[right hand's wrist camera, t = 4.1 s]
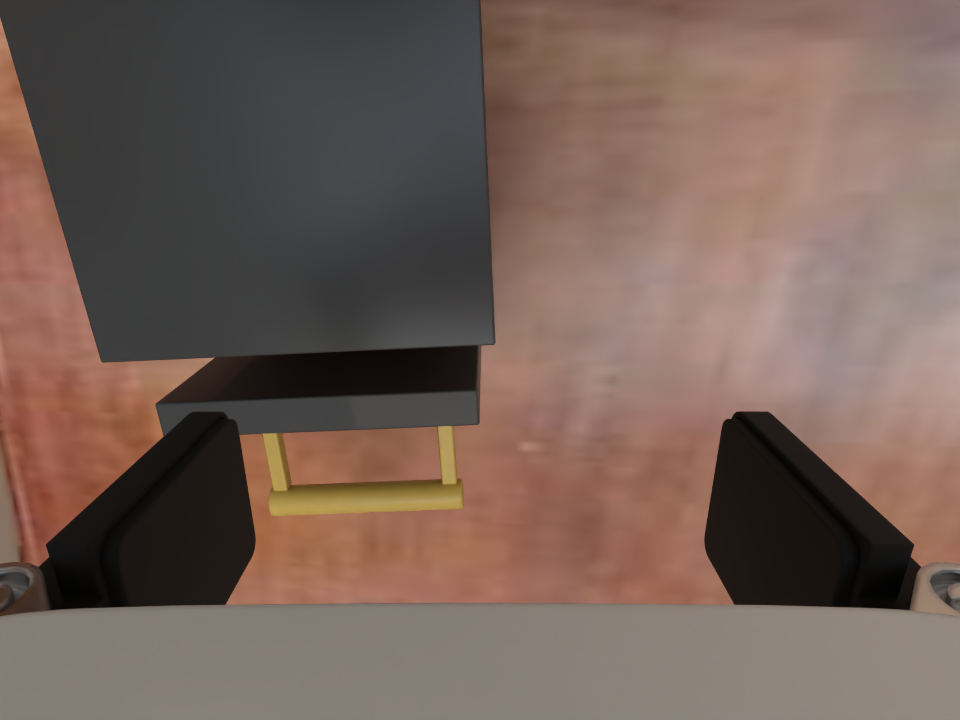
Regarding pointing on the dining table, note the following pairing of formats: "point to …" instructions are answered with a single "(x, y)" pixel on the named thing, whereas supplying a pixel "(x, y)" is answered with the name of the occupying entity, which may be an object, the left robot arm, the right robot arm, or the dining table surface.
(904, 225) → the dining table surface
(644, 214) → the dining table surface
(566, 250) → the dining table surface
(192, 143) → the cabinet
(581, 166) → the dining table surface
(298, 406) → the drawer
